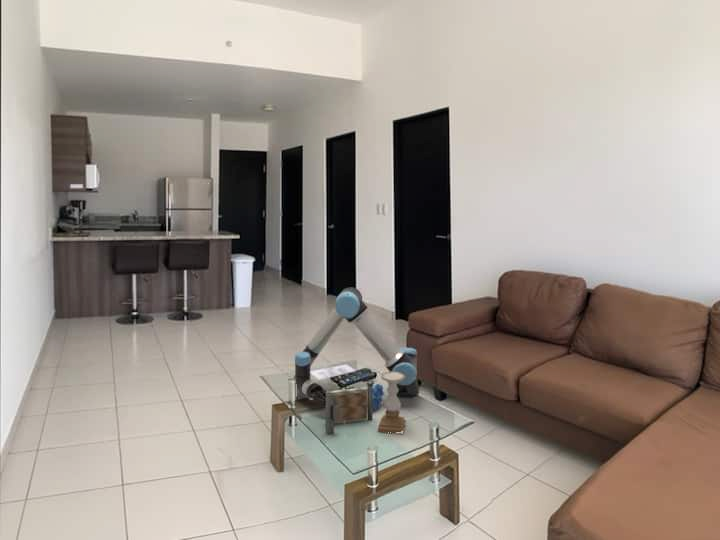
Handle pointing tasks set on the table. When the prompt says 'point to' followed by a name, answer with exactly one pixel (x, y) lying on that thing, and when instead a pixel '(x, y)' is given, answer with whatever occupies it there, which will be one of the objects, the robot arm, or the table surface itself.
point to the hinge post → (370, 400)
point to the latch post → (331, 413)
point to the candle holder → (392, 405)
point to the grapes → (377, 396)
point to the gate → (350, 403)
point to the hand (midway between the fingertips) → (339, 407)
